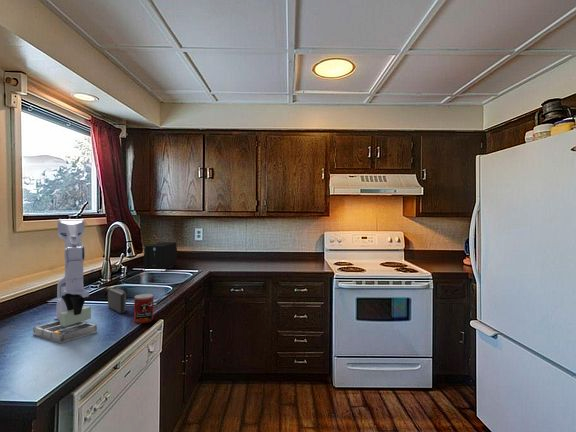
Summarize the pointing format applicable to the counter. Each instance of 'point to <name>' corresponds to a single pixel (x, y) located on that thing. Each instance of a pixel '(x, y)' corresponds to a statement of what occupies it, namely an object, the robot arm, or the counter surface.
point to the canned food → (143, 308)
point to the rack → (64, 331)
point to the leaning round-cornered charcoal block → (117, 300)
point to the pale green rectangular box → (75, 316)
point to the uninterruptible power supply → (160, 255)
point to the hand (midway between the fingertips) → (74, 313)
